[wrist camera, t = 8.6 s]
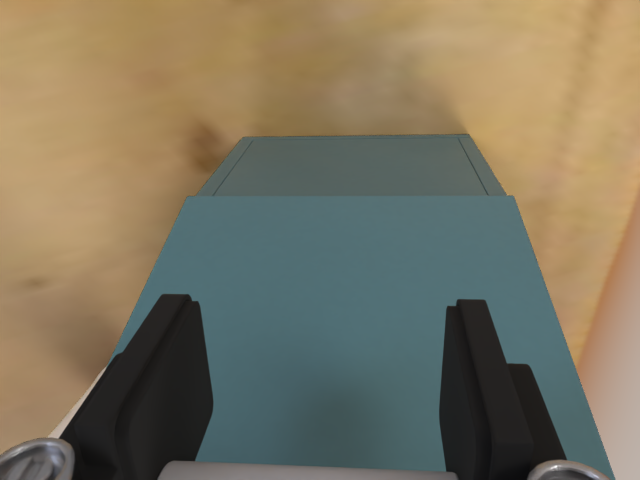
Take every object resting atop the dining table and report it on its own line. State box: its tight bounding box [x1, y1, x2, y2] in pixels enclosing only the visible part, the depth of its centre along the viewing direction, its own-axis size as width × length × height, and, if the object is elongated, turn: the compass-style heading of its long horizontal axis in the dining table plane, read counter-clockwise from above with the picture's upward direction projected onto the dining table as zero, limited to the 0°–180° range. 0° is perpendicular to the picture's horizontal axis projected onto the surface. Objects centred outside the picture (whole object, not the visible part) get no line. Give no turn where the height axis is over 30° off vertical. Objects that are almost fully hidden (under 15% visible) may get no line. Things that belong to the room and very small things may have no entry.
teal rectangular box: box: [196, 134, 507, 196], centre depth 33 cm, size 17×14×11 cm
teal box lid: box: [105, 196, 615, 480], centre depth 16 cm, size 17×14×5 cm
